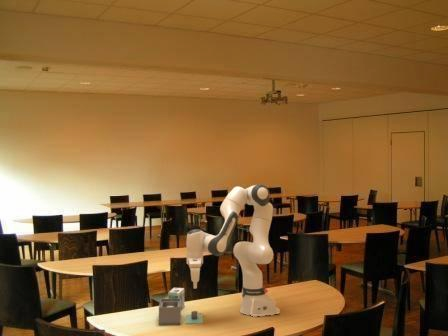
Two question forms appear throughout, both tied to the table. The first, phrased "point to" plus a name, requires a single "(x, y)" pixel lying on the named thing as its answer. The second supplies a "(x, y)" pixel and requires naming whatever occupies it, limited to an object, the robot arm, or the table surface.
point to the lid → (194, 318)
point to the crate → (169, 311)
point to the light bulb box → (177, 295)
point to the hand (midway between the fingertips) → (195, 285)
